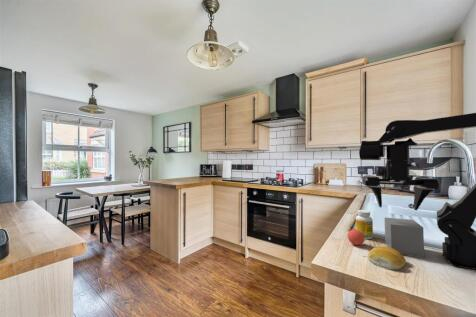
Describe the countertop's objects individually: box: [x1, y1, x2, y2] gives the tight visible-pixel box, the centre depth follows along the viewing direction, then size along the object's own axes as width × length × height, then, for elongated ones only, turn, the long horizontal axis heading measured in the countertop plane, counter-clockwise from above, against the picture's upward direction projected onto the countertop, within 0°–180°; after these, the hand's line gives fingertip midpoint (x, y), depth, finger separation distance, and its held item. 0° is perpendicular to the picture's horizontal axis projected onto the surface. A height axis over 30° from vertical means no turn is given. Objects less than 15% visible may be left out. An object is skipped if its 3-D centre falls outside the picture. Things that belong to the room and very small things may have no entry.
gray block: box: [384, 217, 425, 259], centre depth 62 cm, size 8×8×9 cm
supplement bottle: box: [355, 209, 374, 240], centre depth 73 cm, size 5×5×10 cm
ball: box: [347, 228, 366, 246], centre depth 67 cm, size 5×5×5 cm
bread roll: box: [367, 246, 407, 271], centre depth 56 cm, size 8×9×4 cm
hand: (397, 208), depth 63 cm, fingers open, 9 cm apart
